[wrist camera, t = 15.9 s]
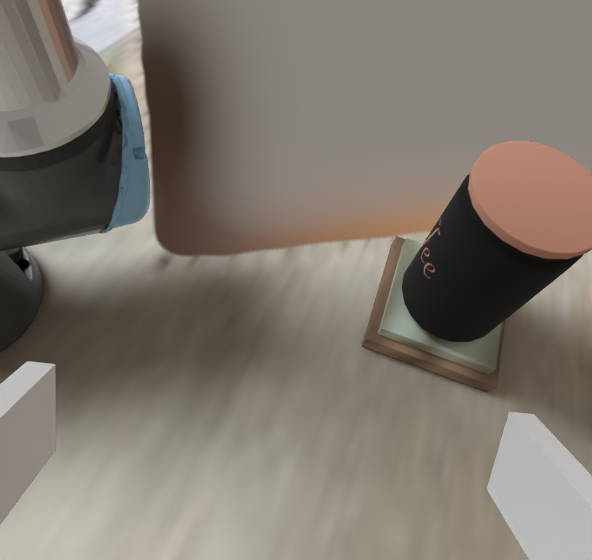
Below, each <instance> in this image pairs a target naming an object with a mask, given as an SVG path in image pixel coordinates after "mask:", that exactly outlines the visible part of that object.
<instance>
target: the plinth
mask: <svg viewBox="0 0 592 560" xmlns="http://www.w3.org/2000/svg"><path fill="white" fill-rule="evenodd" d="M422 245H423V244H421V243H418V242H416V241H413V240H410V239H403V238H400V237H398V236H396V238H395V239H394V241H393V243H392V245H391V248H390V252H389V255H388V258H387V262H386V265H385V269H384V272H383V275H382V279H381V282H380V286H379V289H378V292H377V296H376V299H375V303H374V306H373V310H372V313H371V316H370V320H369V323H368V327H367V330H366V333H365V337H364V340H363V344H362V346H363V347H366V348H369V349H371V350H374V351H377V352H380V353H382V354H385V355H388V356H390V357H393V358H396V359H399V360H401V361H404V362H407V363H409V364H412V365H415V366H418V367H420V368H423V369H426V370H428V371H431V372H434V373H437V374H439V375H442V376H445V377H447V378H450V379H453V380H456V381H458V382H461V383H464V384H466V385H469V386H472V387H475V388H477V389H480V390H483V391H485V392H489V391H490V390H492V389H494V388H495V387H497V379H498V371H499V364H500V356H501V348H502V340H503V332H504V325H505V320H504V321H503V322H502V323H501V324H499V325H498V326H497V327H496V328H494V329H493V330H492V331H491V332H489V333H488V334H487V335H486V336H484V337H483V338H480V339H477V340H474V341H471V342H451V341H447V340H444V339H440V338H437V337H435V336H434V335H432V334H430V333H429V332H427V331H426V330H424V329H422V328H421V327H420V325H419V324H418V323H417V322H416V321H415V320H414V319H413V318H412V317H411V315H410V313H409V311H408V309H407V307H406V306H405V304H404V299H403V293H402V282H403V276H404V273H405V271H406V270H407V268H408V267H409V265H410V263H411V262H412V260H413V259H414V257H415V256H416V254H417V253H418V251H419V249H420V248H421V246H422Z"/></svg>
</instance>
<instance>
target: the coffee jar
mask: <svg viewBox="0 0 592 560" xmlns="http://www.w3.org/2000/svg"><path fill="white" fill-rule="evenodd" d="M590 250H592V174H591V173H590V172H589V171H588V170H587V169H585V168H584V167H583V166H581V165H580V164H579V163H578V162H577V161H575V160H574V159H573V158H572V157H570V156H568V155H566V154H564V153H562V152H560V151H558V150H556V149H554V148H552V147H549V146H545V145H542V144H538V143H534V142H527V141H509V142H505V143H500V144H496V145H494V146H492V147H491V148H489V149H488V150H486V151H485V152H483V153H482V154H481V155H480V157H479V158H478V160H477V161H476V163H475V164H474V166H473V168H472V170H471V172H470V174H469V175H467V176H466V178H465V179H464V181H463V182H462V184H461V186H460V187H459V189H458V190H457V192H456V193H455V195H454V196H453V198H452V200H451V201H450V203H449V205H448V206H447V207H446V209H445V210H444V212H443V214H442V215H441V217H440V218H439V220H438V221H437V223H436V225H435V226H434V228H433V229H432V231H431V232H430V234H429V235H428V237H427V239H426V240H425V242H424V243H423V245H422V246H421V248H420V249H419V251H418V253H417V254H416V256H415V257H414V259H413V260H412V262H411V263H410V265H409V267H408V268H407V270H406V271H405V273H404V276H403V282H402V293H403V299H404V304H405V306H406V307H407V309H408V311H409V313H410V315H411V317H412V318H413V319H414V320H415V321H416V322H417V323H418V324H419V325H420V327H421V328H422V329H424V330H426V331H427V332H429V333H430V334H432V335H434V336H435V337H437V338H440V339H444V340H447V341H451V342H471V341H474V340H477V339H480V338H483V337H484V336H486V335H487V334H488V333H489V332H491V331H492V330H493V329H494V328H496V327H497V326H498V325H499V324H501V323H502V322H503V321H504V320H506V319H507V318H508V317H509V316H510V315H512V314H513V313H514V312H515V311H517V310H518V309H519V308H520V307H522V306H523V305H524V304H525V303H527V302H528V301H529V300H530V299H532V298H533V297H534V296H535V295H536V294H538V293H539V292H540V291H541V290H543V289H544V288H545V287H546V286H548V285H549V284H550V283H551V282H553V281H554V280H555V279H556V278H558V277H559V276H560V275H561V274H563V273H564V272H565V271H566V270H567V269H569V268H570V267H571V266H572V265H573V264H574V263H575V262H577V261H578V260H579V259H580V258H581V257H582V256H583V254H585V253H587V252H589V251H590Z"/></svg>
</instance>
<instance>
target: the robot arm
mask: <svg viewBox="0 0 592 560" xmlns="http://www.w3.org/2000/svg"><path fill="white" fill-rule="evenodd" d="M149 205H150V178H149V168H148V160H147V156H146V153H145V141H144V132H143V126H142V121H141V116H140V111H139V107H138V103H137V99H136V96H135V93H134V89H133V87H132V84H131V83H130V81H129V80H128V79H127V78H126V77H124V76H121V75H115V74H112V73H108V70H107V67H106V65H105V64H104V62H103V60H102V59H101V57H100V56H99V55H98V54H97V53H96V52H95V51H94V50H93V49H92V48H91V47H90V46H88V45H87V44H86V43H84V42H82V41H81V40H79V39H77V38H75V37H73V35H72V32H71V29H70V26H69V23H68V20H67V17H66V14H65V10H64V7H63V4H62V1H61V0H0V352H1V351H3V350H4V349H5V348H7V347H8V346H9V345H11V344H12V343H13V342H14V341H15V340H16V339H18V338H19V337H20V335H21V334H22V333H23V332H24V331H25V330H26V329H27V327H28V326H29V325H30V323H31V322H32V320H33V318H34V317H35V315H36V313H37V311H38V308H39V306H40V302H41V298H42V292H43V281H42V276H41V272H40V269H39V267H38V265H37V263H36V262H35V260H34V259H33V257H32V256H31V255H30V253H29V252H28V251H27V249H26V248H25V247H27V246H32V245H37V244H42V243H48V242H53V241H58V240H64V239H69V238H74V237H80V236H85V235H90V234H96V233H107V232H108V231H110V230H111V229H113V228H117V227H120V226H124V225H128V224H132V223H136V222H138V221H140V220H141V219H142V218H143V217H144V216H145V215H146V213H147V211H148V209H149ZM55 450H56V366H55V364H50V363H40V362H31V361H27V362H26V363H24V364H23V365H22V366H21V367H20V368H19V369H17V370H16V371H15V372H14V373H13V374H12V375H10V376H9V377H8V378H7V379H6V380H5V381H3V382H2V383H1V384H0V524H1V523H2V522H3V520H4V519H5V518H6V516H7V515H8V513H9V512H10V511H11V509H12V508H13V507H14V505H15V504H16V503H17V501H18V500H19V499H20V497H21V496H22V494H23V493H24V492H25V490H26V489H27V488H28V486H29V485H30V484H31V482H32V481H33V480H34V478H35V477H36V476H37V474H38V473H39V471H40V470H41V469H42V467H43V466H44V465H45V463H46V462H47V461H48V459H49V458H50V457H51V455H52V454H53V452H54V451H55ZM487 490H488V492H489V494H490V495H491V497H492V499H493V500H494V502H495V504H496V506H497V507H498V509H499V511H500V512H501V514H502V516H503V517H504V519H505V521H506V522H507V524H508V526H509V527H510V529H511V531H512V532H513V534H514V536H515V537H516V539H517V541H518V542H519V544H520V546H521V547H522V549H523V551H524V552H525V554H526V556H527V557H528V559H529V560H592V476H591V474H590V473H589V472H588V471H587V470H586V469H585V468H584V467H583V466H582V465H581V464H580V463H579V462H578V461H577V460H576V458H575V457H574V456H573V455H572V454H571V453H570V452H569V451H568V450H567V449H566V448H565V447H564V446H563V445H562V444H561V442H560V441H559V440H558V439H557V438H556V437H555V436H554V435H553V434H552V433H551V432H550V431H549V430H548V429H547V428H546V426H545V425H544V424H543V423H542V422H541V421H540V420H539V419H538V418H537V417H536V416H535V415H534V414H528V413H518V412H509V414H508V418H507V421H506V424H505V428H504V431H503V435H502V438H501V442H500V445H499V449H498V452H497V455H496V459H495V462H494V466H493V469H492V473H491V476H490V480H489V483H488V486H487Z"/></svg>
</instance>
